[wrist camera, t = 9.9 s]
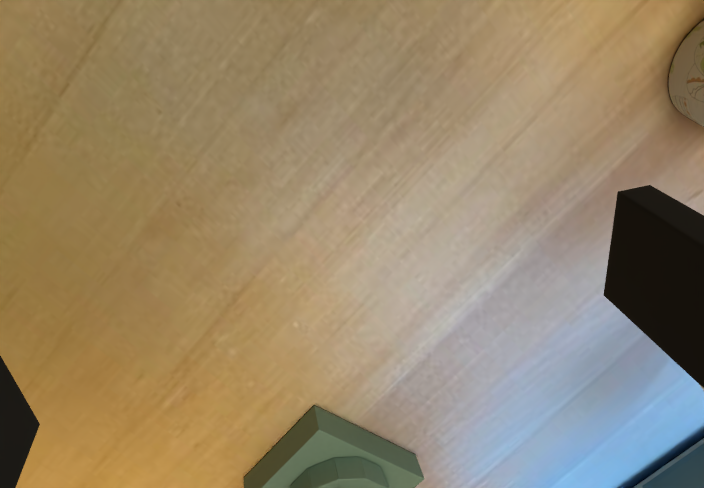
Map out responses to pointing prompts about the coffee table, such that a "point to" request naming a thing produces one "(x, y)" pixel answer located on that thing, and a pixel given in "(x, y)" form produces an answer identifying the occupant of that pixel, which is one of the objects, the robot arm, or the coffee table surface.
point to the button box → (334, 458)
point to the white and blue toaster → (680, 471)
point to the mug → (689, 76)
